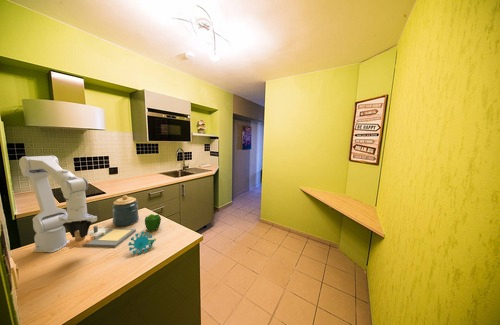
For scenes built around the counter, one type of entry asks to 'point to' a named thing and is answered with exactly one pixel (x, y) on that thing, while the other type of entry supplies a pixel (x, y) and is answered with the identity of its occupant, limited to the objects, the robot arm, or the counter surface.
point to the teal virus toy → (141, 242)
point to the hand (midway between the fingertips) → (80, 236)
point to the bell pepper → (152, 222)
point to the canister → (125, 211)
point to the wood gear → (79, 240)
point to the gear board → (108, 236)
